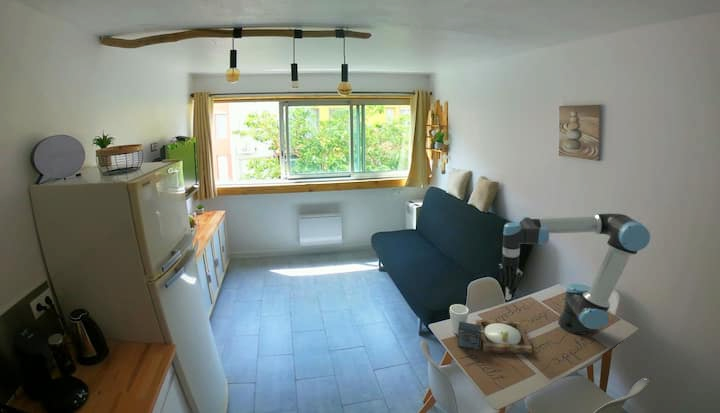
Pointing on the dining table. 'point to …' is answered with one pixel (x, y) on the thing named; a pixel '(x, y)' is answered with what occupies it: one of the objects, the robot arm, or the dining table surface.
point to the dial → (502, 334)
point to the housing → (521, 348)
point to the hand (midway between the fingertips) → (508, 298)
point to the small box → (469, 335)
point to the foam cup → (458, 316)
